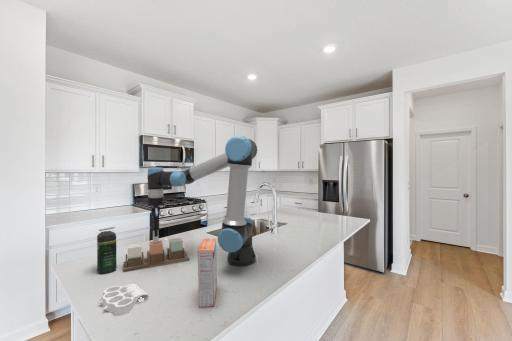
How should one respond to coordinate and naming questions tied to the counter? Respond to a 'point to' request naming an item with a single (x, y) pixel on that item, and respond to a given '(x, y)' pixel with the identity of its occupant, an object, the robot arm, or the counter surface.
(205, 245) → the cracker box
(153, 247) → the terracotta key
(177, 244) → the sage key
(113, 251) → the coffee jar
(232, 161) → the robot arm
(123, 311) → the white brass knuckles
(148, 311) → the counter surface
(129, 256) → the cream key
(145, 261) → the board
